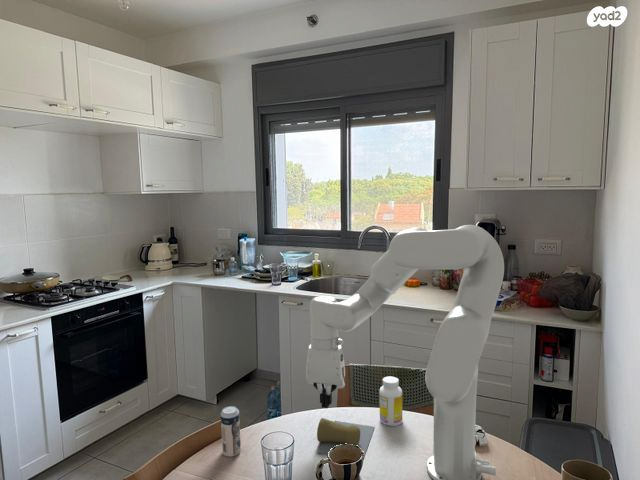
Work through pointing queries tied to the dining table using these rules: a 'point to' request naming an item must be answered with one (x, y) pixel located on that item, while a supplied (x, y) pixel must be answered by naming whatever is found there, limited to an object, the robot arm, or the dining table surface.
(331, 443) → the mat
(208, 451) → the dining table surface
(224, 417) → the beer can
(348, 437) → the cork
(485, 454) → the dining table surface
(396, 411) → the supplement bottle
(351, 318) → the robot arm
